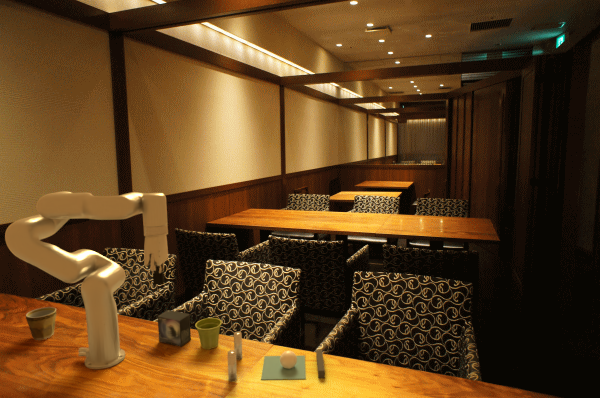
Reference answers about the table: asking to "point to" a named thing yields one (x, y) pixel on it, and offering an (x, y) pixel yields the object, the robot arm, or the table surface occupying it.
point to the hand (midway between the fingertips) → (159, 283)
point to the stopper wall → (320, 364)
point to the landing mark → (282, 369)
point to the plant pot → (208, 332)
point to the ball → (288, 359)
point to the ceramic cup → (41, 322)
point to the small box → (174, 328)
